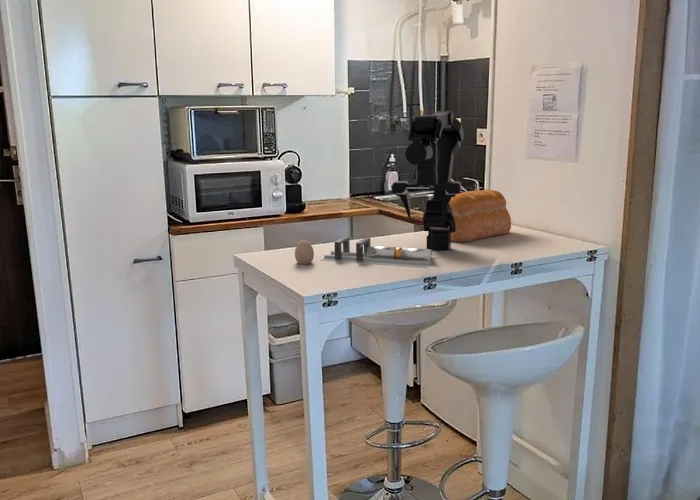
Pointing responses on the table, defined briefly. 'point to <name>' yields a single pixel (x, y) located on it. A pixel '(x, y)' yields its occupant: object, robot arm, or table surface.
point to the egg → (304, 252)
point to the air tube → (399, 253)
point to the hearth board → (376, 260)
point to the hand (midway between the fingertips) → (426, 218)
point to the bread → (479, 215)
